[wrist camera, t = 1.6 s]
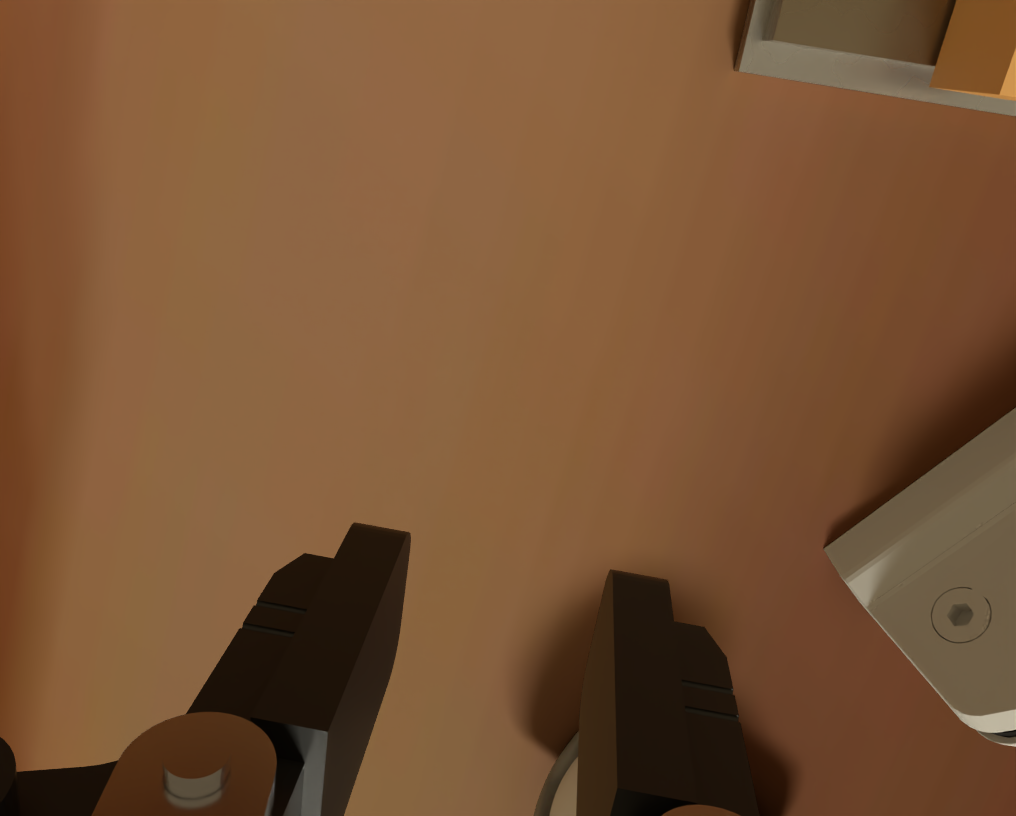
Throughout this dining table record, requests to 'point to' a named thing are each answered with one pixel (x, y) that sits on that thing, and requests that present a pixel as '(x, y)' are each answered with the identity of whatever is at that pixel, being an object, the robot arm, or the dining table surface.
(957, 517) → the hinge
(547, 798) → the pipe fitting
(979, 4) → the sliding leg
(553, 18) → the dining table surface
